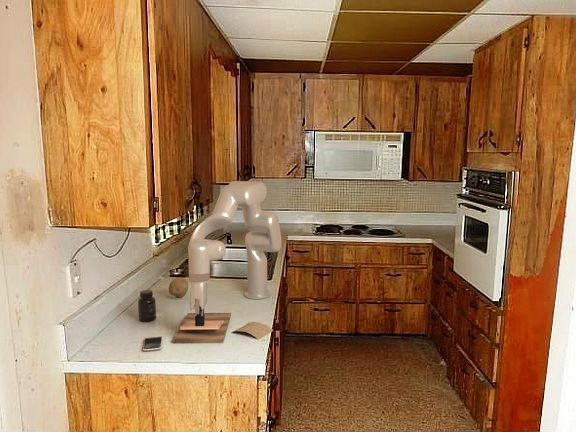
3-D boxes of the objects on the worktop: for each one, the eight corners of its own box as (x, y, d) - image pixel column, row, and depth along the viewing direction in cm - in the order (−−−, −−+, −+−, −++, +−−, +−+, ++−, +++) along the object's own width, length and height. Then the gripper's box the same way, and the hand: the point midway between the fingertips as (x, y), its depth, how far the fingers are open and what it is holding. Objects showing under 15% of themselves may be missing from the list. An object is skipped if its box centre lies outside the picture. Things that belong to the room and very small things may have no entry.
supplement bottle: (155, 315, 182) (154, 288, 180) (156, 321, 175) (155, 293, 174) (138, 317, 179) (137, 289, 178) (138, 323, 173) (137, 295, 171)
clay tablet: (275, 332, 167) (275, 325, 166) (260, 342, 158) (260, 335, 157) (244, 325, 173) (244, 318, 173) (229, 334, 165) (229, 327, 164)
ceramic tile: (179, 326, 157) (179, 329, 157) (219, 326, 158) (219, 329, 158) (187, 320, 170) (187, 323, 170) (223, 320, 171) (223, 322, 170)
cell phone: (142, 353, 148) (142, 350, 148) (145, 340, 159) (145, 336, 158) (161, 352, 149) (161, 348, 149) (162, 338, 160) (162, 335, 160)
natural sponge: (178, 303, 197) (177, 282, 196) (164, 299, 202) (164, 278, 201) (192, 297, 205) (192, 277, 203) (179, 294, 210) (179, 274, 208)
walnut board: (188, 316, 181) (187, 313, 181) (230, 316, 181) (230, 312, 181) (173, 343, 155) (173, 339, 155) (223, 343, 156) (223, 339, 155)
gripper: (192, 272, 164) (193, 318, 166) (184, 282, 149) (185, 333, 151) (212, 272, 164) (212, 318, 167) (206, 282, 150) (206, 333, 152)
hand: (199, 325), depth 159 cm, fingers closed
